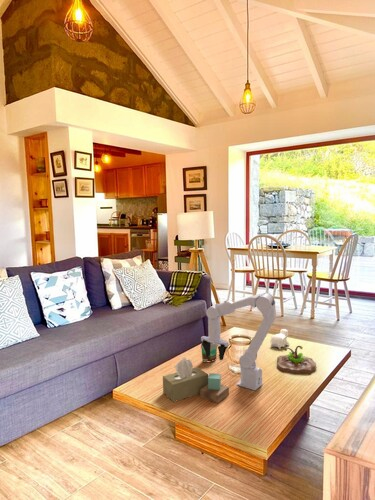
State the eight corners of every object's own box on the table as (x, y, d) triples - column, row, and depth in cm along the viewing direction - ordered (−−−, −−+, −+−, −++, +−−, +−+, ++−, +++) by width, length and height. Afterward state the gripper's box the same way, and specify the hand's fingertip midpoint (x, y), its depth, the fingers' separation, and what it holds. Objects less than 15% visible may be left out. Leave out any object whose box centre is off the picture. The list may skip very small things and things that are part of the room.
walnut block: (228, 395, 158) (228, 387, 158) (217, 404, 151) (217, 395, 151) (211, 390, 164) (211, 381, 163) (200, 398, 157) (200, 389, 156)
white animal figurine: (283, 354, 210) (293, 338, 220) (280, 342, 207) (291, 327, 217) (270, 351, 216) (280, 336, 226) (267, 339, 213) (278, 325, 223)
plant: (317, 376, 175) (317, 354, 174) (276, 372, 180) (276, 351, 179) (314, 360, 194) (315, 340, 193) (277, 357, 199) (277, 338, 198)
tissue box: (197, 382, 171) (197, 350, 169) (209, 391, 162) (208, 357, 161) (162, 393, 161) (161, 359, 160) (172, 402, 153) (171, 367, 151)
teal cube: (220, 384, 160) (220, 373, 160) (219, 389, 155) (219, 378, 155) (209, 383, 161) (209, 373, 161) (208, 389, 156) (208, 378, 156)
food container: (210, 365, 190) (210, 346, 189) (201, 362, 194) (200, 344, 193) (222, 357, 200) (222, 340, 199) (213, 355, 204) (213, 338, 203)
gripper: (231, 330, 171) (232, 358, 172) (206, 325, 180) (207, 352, 181) (223, 334, 165) (224, 363, 167) (198, 329, 174) (198, 356, 175)
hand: (214, 357), depth 173 cm, fingers open, 7 cm apart
